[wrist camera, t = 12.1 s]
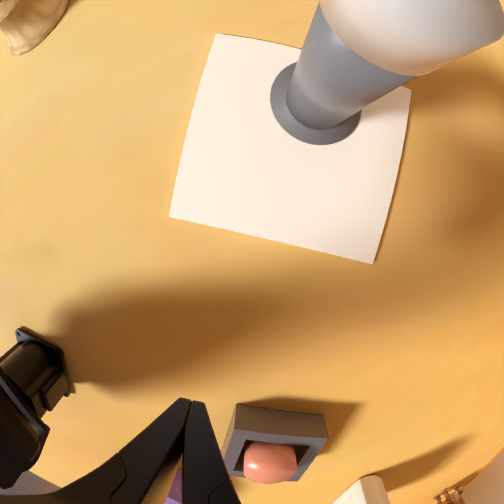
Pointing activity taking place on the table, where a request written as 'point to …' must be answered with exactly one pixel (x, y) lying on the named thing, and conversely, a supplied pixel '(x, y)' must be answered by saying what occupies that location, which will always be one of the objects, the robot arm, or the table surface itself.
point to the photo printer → (365, 492)
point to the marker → (381, 51)
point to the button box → (273, 435)
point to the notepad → (285, 157)
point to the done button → (269, 462)
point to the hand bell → (29, 22)
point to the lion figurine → (450, 497)
